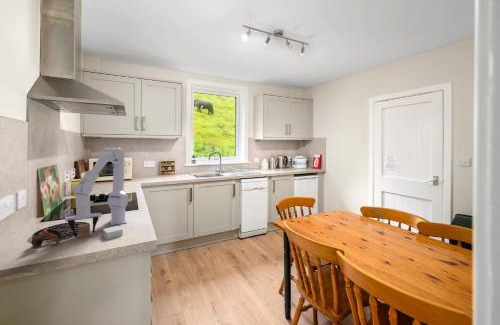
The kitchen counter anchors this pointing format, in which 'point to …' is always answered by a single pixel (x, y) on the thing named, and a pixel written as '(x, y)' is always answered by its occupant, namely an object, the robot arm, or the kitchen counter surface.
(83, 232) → the walnut block
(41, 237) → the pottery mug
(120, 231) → the base block
